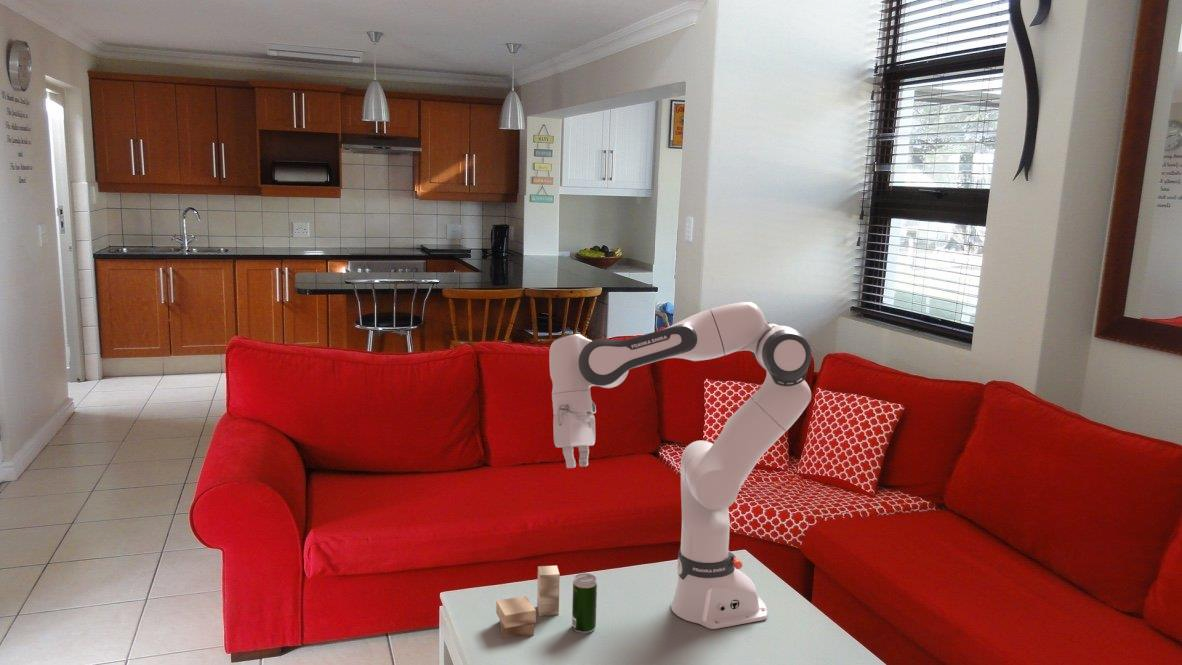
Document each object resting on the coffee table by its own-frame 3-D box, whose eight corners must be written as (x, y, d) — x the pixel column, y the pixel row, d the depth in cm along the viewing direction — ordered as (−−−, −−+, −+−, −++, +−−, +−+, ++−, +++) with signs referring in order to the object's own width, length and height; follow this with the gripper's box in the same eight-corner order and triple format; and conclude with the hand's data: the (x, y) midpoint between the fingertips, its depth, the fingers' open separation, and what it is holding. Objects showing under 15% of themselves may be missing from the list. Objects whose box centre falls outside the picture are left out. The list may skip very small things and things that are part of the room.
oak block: (525, 607, 192) (526, 595, 191) (535, 622, 185) (535, 610, 185) (496, 613, 189) (496, 600, 188) (505, 628, 183) (505, 615, 182)
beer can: (580, 636, 185) (581, 586, 183) (567, 626, 189) (568, 576, 187) (600, 630, 188) (602, 580, 186) (587, 619, 192) (588, 570, 190)
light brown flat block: (530, 621, 192) (530, 609, 191) (533, 637, 185) (533, 624, 184) (499, 623, 190) (499, 611, 190) (501, 639, 184) (501, 626, 183)
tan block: (556, 605, 198) (557, 565, 197) (558, 614, 194) (559, 574, 192) (537, 606, 198) (537, 566, 196) (539, 615, 193) (540, 575, 192)
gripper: (571, 402, 180) (577, 467, 178) (597, 405, 200) (603, 464, 197) (543, 405, 182) (549, 470, 180) (572, 408, 201) (577, 466, 199)
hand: (577, 467), depth 189 cm, fingers open, 8 cm apart
